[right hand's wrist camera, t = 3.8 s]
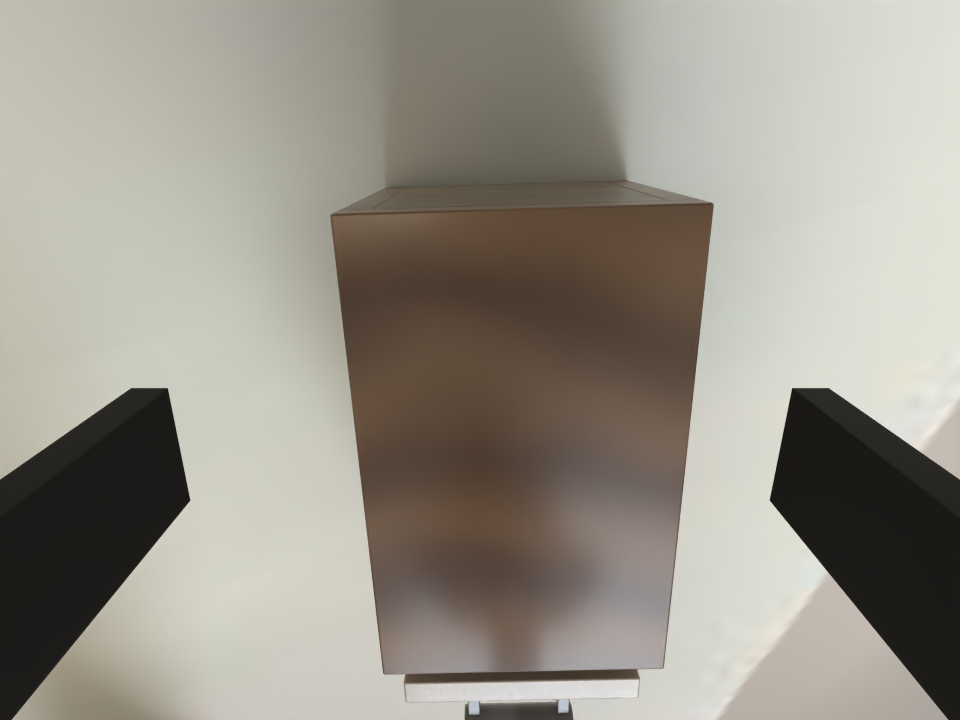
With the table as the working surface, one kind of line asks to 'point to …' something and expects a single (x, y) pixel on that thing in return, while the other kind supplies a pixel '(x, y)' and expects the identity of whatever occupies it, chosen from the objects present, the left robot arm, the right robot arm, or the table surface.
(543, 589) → the cabinet
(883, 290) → the table surface
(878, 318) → the table surface
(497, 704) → the drawer
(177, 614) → the table surface
